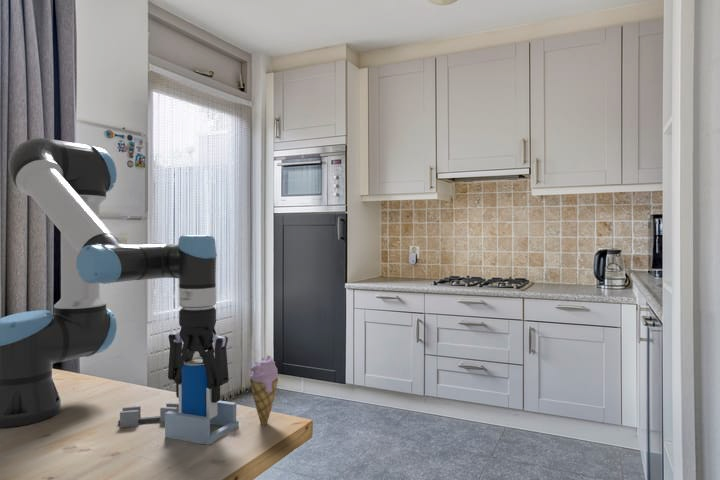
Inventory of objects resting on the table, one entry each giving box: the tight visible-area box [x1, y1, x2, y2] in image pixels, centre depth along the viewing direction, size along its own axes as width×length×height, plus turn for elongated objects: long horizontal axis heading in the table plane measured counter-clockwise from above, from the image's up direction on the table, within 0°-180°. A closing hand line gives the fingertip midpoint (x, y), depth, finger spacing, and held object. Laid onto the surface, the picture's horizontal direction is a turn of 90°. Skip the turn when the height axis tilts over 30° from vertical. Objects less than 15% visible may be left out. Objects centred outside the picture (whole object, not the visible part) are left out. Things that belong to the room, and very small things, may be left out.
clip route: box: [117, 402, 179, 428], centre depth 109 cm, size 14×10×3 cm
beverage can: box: [182, 357, 210, 417], centre depth 105 cm, size 6×6×12 cm
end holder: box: [164, 400, 240, 446], centre depth 104 cm, size 11×10×5 cm
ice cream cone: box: [248, 354, 279, 426], centre depth 108 cm, size 7×6×15 cm
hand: (198, 414), depth 105 cm, fingers closed on beverage can, 6 cm apart
